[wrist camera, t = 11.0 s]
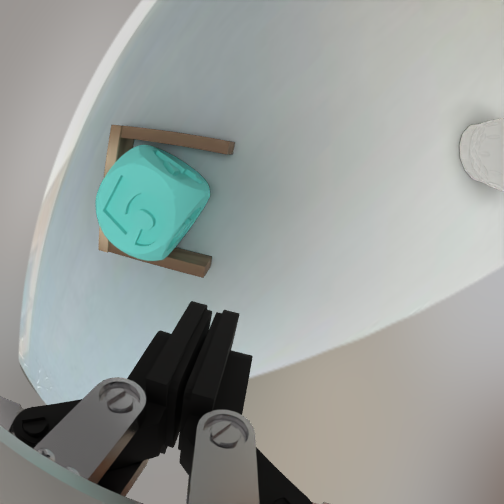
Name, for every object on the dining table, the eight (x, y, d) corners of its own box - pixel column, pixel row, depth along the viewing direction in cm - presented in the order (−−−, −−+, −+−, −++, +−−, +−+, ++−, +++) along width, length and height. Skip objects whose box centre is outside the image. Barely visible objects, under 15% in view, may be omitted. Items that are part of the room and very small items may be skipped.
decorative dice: (158, 143, 29) (120, 143, 22) (219, 186, 30) (197, 198, 23) (123, 204, 32) (82, 221, 24) (178, 246, 33) (148, 274, 25)
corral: (127, 126, 29) (111, 124, 26) (235, 142, 29) (229, 141, 25) (113, 241, 33) (98, 249, 30) (210, 266, 33) (202, 279, 30)
